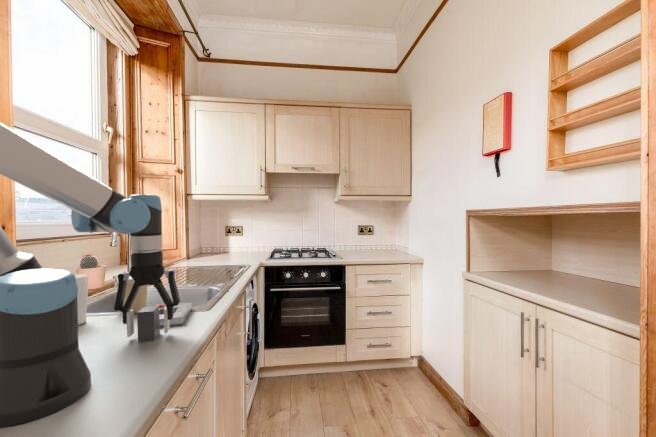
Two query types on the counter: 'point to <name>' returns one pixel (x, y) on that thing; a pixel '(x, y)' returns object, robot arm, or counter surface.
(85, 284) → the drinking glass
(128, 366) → the counter surface
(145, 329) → the plug
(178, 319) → the socket plate
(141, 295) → the coffee cup
